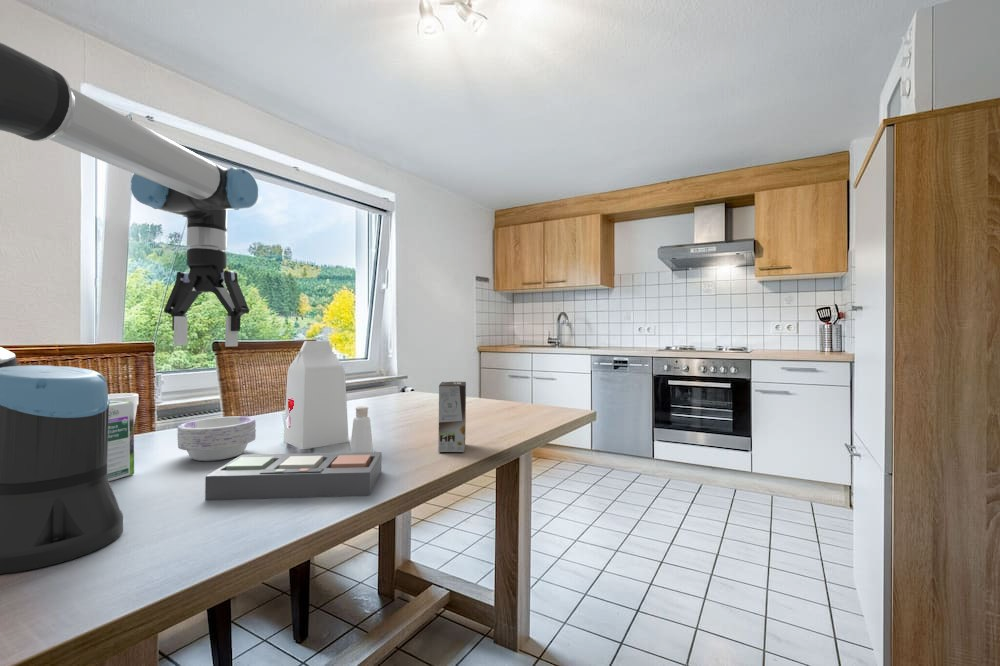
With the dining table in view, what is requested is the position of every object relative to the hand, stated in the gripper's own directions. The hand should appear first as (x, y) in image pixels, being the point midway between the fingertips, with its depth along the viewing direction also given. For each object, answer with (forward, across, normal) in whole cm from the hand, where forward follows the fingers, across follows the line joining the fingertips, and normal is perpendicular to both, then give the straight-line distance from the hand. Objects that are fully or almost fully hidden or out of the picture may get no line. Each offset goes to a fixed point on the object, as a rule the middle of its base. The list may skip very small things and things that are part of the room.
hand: (205, 346), depth 103 cm
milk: (+25, -13, -22) cm, 36 cm away
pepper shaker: (+25, -31, -13) cm, 42 cm away
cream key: (+23, -31, +9) cm, 40 cm away
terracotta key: (+23, -40, +6) cm, 46 cm away
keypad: (+25, -31, +9) cm, 41 cm away
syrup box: (+25, +7, +15) cm, 30 cm away
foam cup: (+25, +26, 0) cm, 36 cm away
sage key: (+23, -23, +12) cm, 34 cm away
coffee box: (+25, -49, -24) cm, 60 cm away
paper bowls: (+25, 0, -3) cm, 25 cm away
